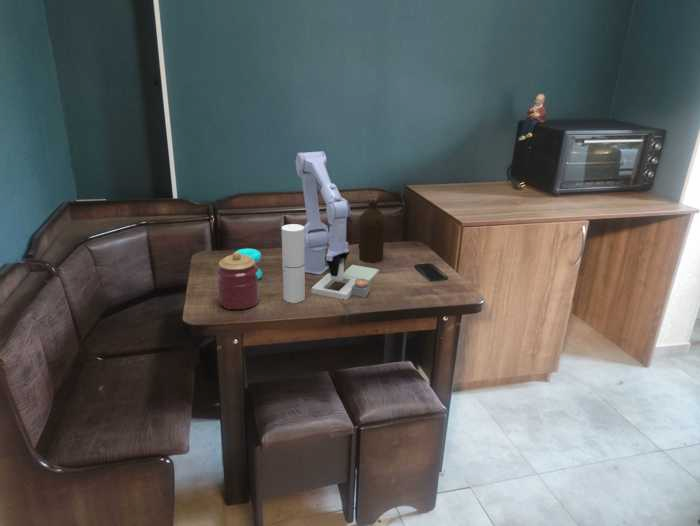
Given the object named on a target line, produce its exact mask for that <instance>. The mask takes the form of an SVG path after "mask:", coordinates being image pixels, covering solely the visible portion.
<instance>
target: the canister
mask: <svg viewBox="0 0 700 526" xmlns="http://www.w3.org/2000/svg"><path fill="white" fill-rule="evenodd" d="M218 265H219V266H218V267H217V269H216V273H217V275H218V277H217V287H218V301H219V305H220V304H221V305H222V306H224V307H226V308H230V309H245V308H249V307H252V306H254V305H255V306H256V305H258V303H259V301H260V300H259V299H260V292H259V279H258V276H257V273H256V272H257V271H258V268H259V266H258V265H256V263H255V260H254V259H253V258H251V257H249V256H247V255H243V254H240V253H239V252H236V251H235V252H233V253H232V254H230V255H227V256H225V257H224V258H222V259H221V260H219V262H218ZM221 305H220V306H221ZM222 306H221V307H222ZM255 306H254V307H255ZM224 307H223V308H224ZM226 308H225V309H226ZM252 308H253V307H252ZM249 309H250V308H249ZM245 310H246V309H245Z"/></svg>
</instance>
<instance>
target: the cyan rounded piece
mask: <svg viewBox="0 0 700 526" xmlns="http://www.w3.org/2000/svg"><path fill="white" fill-rule="evenodd" d="M235 252H239V253H240V254H243V255H247V256H249V257H251V258H253V259H254V260H255V264H256V263H258V262H259V261H261V258H262V253H261V251H259V250H257V249H255V248H240V249H238V250H236V251H235ZM256 273H257V276H258V280H260V279H261V277H262V276H263V272H262V270H261V269H260V268H259V267H258V271H257V272H256Z"/></svg>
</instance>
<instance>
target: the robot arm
mask: <svg viewBox="0 0 700 526" xmlns="http://www.w3.org/2000/svg"><path fill="white" fill-rule="evenodd" d="M327 159H328V158H327V156H326V153H325V152H324V151H323V150H320V151H309V152H308V151H307V152H298V153H297V154H296V157H295V168H296V172H297V173H296V175H297V177H299V178H301V183H302V192H303V200H304V207H305V214H306V215H305V216H306V223H305V224H304V225H303V226H304V260H305V263H304V264H305V273H307V274H314V275H318V276H320V275H321V276H322V274H324V273H325V272H326V271H328V269H329V272H330V274H331V276H337V275H338V269H339V265H340V262H341V260H342V259H341V258H337V256H339V257H343V258H344V266H345V265H346V261H347V258H348V256H349V254H350V249H349V242H348V241H347V225H348V223H347V220H348V218H349V217H350V216H351V207H350V206H351V205H350V203H349V201H348V200H346V199H345V198H344V197H342V196H341V194H340V191H339V190H338V187H337V185H336V184H335V183H333V182H331V179H330V175H329V173H328V170H327V163H328V162H327V161H328V160H327ZM317 182H318V184H319V185H320V187H321V189H320V194H321V197H322V198H323V201H324V202H325V206H326V208H325V209H326V210H325V211H326V215H327V222H328V224H329V228H328V225H327V224H325V223H324V222H322V220H321V215H320V214H321V213H320V205H319V196H318V191H317ZM327 248H328V250H327V254H326V249H327ZM326 263H327V265H326Z"/></svg>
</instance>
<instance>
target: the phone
mask: <svg viewBox="0 0 700 526" xmlns="http://www.w3.org/2000/svg"><path fill="white" fill-rule="evenodd" d="M413 268H414V269H415V270H416V271H417V272H418V273H420V275H422V276H423V278H424V279H426V280H427V281H428V282H432V283H433V282H441V281H448V279H449V277H448V275H446V274H445V273H444V272H443V271H441V270H440V268H438V267H437V266H435V265H434V264H433V263H430V262H428V263H426V262H425V263H419V264H414V265H413Z"/></svg>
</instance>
